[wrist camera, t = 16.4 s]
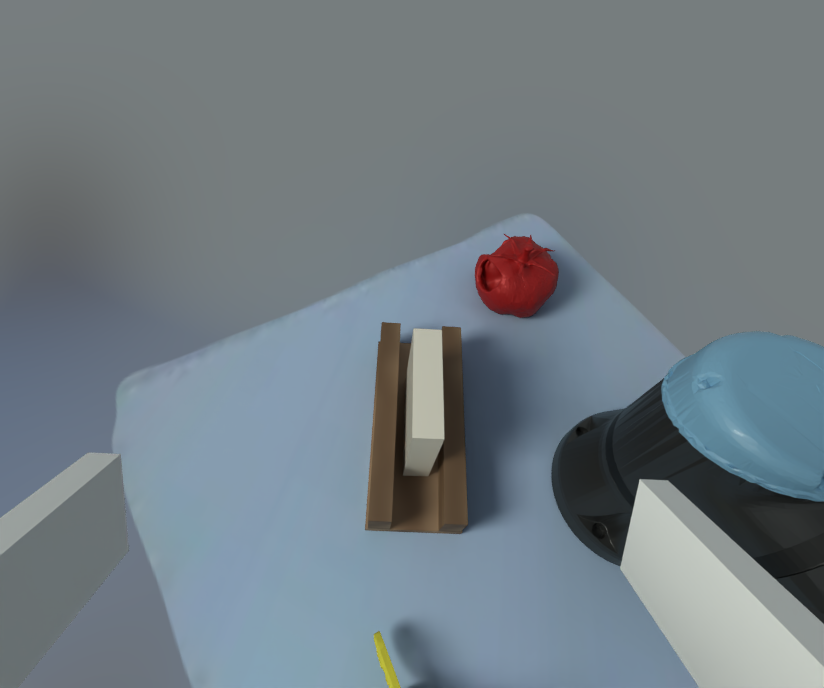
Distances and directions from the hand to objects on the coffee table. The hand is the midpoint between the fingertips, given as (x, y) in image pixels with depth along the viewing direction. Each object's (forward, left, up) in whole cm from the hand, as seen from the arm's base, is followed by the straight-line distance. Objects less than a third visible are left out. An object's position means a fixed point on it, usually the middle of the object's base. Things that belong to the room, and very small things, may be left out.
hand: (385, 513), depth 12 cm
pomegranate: (-15, -34, -34) cm, 50 cm away
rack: (-4, -15, -34) cm, 37 cm away
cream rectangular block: (-4, -15, -33) cm, 36 cm away
